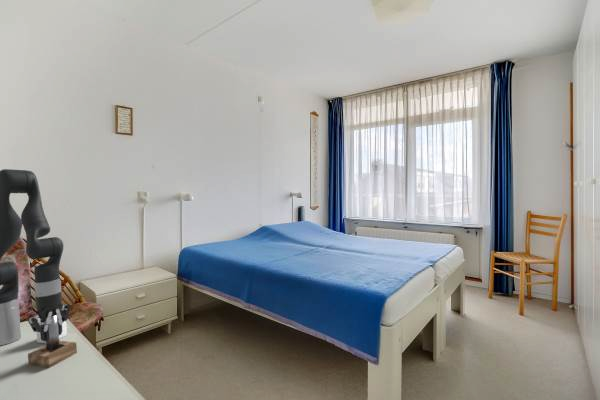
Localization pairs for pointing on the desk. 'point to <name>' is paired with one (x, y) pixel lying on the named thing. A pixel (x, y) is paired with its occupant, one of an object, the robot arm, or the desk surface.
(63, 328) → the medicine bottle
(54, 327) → the peg
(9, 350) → the desk surface
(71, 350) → the bore block
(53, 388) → the desk surface
